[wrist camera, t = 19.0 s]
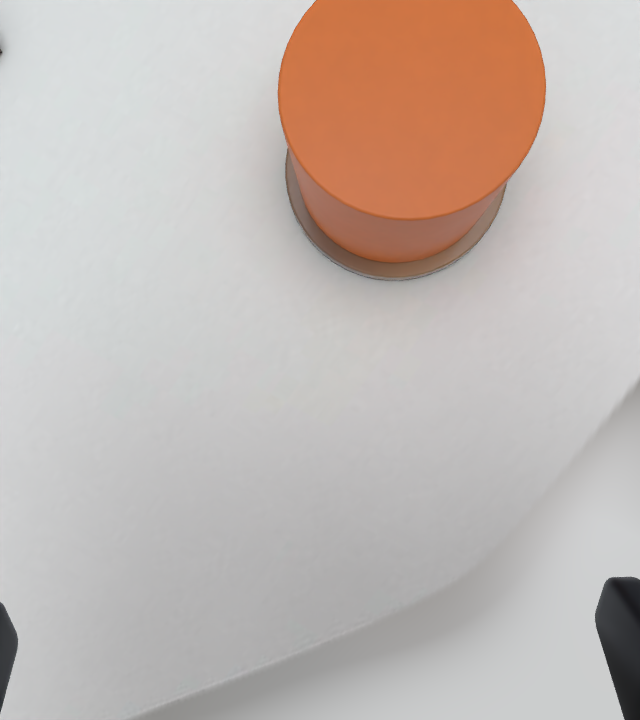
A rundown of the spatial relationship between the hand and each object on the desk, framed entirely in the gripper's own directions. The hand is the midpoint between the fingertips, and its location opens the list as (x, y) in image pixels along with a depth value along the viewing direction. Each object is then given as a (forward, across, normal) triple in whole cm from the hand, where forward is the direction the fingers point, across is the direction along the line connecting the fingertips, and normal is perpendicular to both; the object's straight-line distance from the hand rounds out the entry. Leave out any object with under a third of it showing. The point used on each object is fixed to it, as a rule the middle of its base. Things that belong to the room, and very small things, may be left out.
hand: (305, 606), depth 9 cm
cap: (+13, -3, -3) cm, 14 cm away
